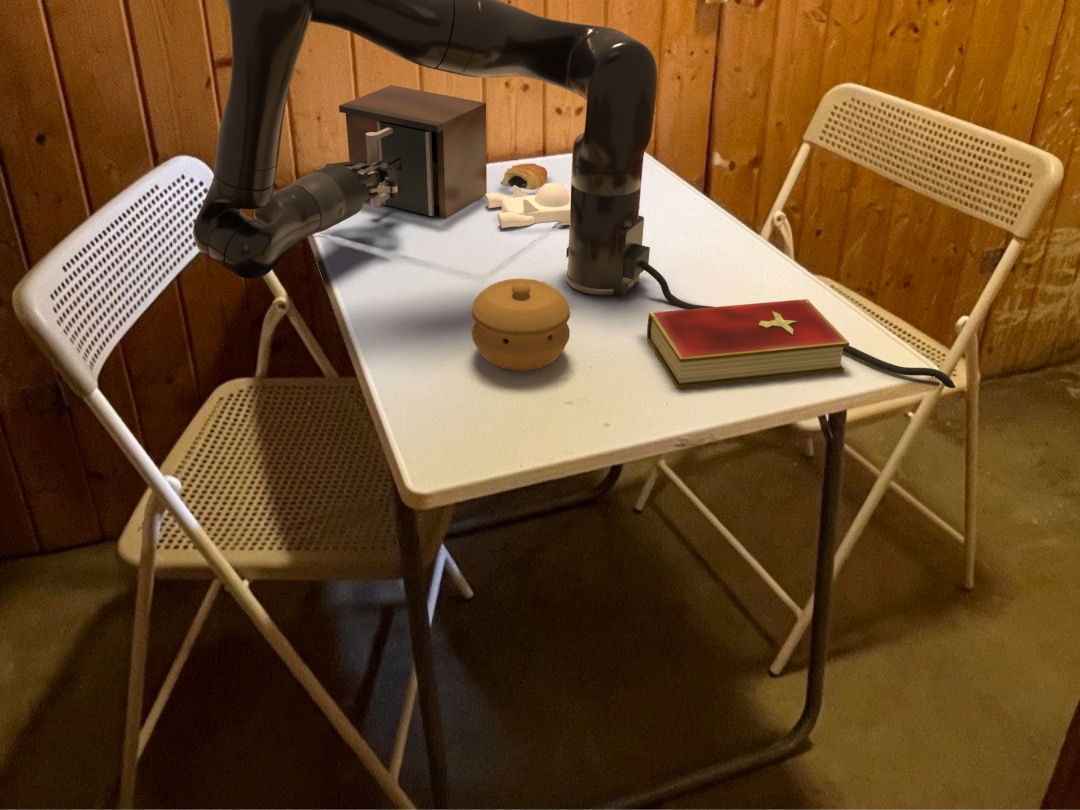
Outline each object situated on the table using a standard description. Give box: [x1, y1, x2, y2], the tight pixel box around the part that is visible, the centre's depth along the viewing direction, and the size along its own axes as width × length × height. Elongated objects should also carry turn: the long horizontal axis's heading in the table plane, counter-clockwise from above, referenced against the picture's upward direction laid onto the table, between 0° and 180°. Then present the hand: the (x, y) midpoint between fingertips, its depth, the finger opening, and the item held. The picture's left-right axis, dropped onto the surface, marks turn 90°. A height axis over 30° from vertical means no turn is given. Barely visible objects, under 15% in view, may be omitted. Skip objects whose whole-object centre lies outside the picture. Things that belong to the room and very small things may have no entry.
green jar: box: [432, 153, 439, 205], centre depth 160 cm, size 5×5×7 cm
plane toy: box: [484, 182, 571, 229], centre depth 157 cm, size 10×20×6 cm, turn 106°
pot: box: [470, 278, 571, 372], centre depth 120 cm, size 12×12×10 cm
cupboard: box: [338, 84, 488, 220], centre depth 159 cm, size 13×18×16 cm
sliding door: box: [366, 121, 434, 217], centre depth 152 cm, size 6×9×13 cm, turn 61°
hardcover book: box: [646, 298, 850, 390], centre depth 123 cm, size 12×21×4 cm, turn 102°
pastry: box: [500, 163, 548, 191], centre depth 170 cm, size 9×7×4 cm
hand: (397, 162), depth 150 cm, fingers closed
